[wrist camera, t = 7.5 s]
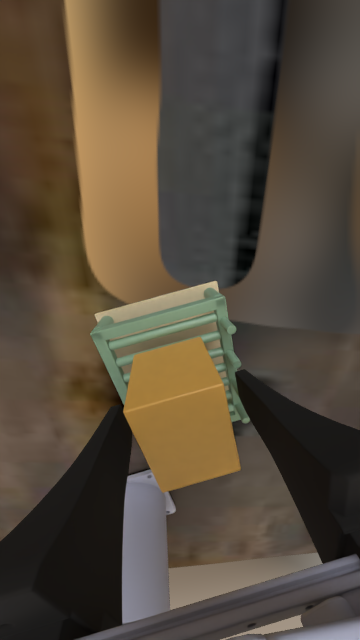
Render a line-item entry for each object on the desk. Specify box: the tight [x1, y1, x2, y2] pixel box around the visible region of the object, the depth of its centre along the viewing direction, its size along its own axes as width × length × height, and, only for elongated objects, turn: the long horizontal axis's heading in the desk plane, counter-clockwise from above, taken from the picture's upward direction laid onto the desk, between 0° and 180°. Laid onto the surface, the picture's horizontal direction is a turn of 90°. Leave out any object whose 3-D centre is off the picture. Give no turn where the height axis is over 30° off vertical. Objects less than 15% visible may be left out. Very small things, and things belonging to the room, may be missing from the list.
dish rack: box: [90, 281, 250, 423], centre depth 14 cm, size 11×9×4 cm
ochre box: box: [123, 337, 241, 493], centre depth 11 cm, size 4×6×5 cm
